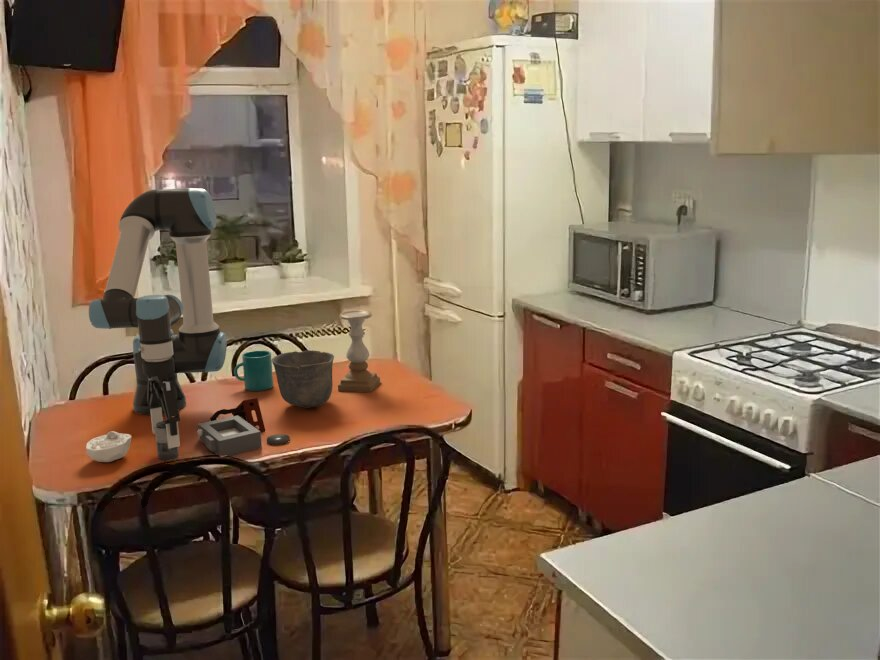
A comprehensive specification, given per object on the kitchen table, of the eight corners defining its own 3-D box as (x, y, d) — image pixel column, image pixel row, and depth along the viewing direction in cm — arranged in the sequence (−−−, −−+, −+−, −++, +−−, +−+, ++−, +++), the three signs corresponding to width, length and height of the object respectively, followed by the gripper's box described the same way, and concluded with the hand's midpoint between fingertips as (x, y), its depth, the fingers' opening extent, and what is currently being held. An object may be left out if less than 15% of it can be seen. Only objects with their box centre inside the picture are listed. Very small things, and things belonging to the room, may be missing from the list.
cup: (234, 386, 270) (231, 353, 267) (271, 382, 274) (268, 349, 271) (237, 394, 262) (234, 360, 259) (275, 389, 266) (272, 355, 263)
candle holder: (380, 382, 271) (377, 310, 265) (370, 392, 260) (367, 317, 255) (348, 380, 273) (345, 309, 267) (337, 390, 263) (333, 317, 257)
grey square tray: (195, 440, 223) (193, 424, 222) (239, 430, 229) (237, 415, 228) (216, 458, 210) (214, 442, 209) (261, 447, 216) (260, 431, 215)
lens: (155, 456, 213) (151, 422, 211) (175, 451, 215) (171, 418, 213) (161, 462, 209) (157, 428, 207) (181, 457, 211) (177, 424, 209)
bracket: (228, 439, 223) (220, 404, 225) (217, 450, 235) (209, 416, 237) (266, 431, 228) (257, 396, 230) (252, 442, 240) (244, 409, 243)
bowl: (295, 420, 237) (292, 369, 233) (264, 406, 250) (260, 357, 246) (347, 405, 248) (344, 357, 245) (314, 393, 261) (311, 346, 258)
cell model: (77, 465, 208) (73, 440, 206) (111, 448, 219) (108, 424, 217) (109, 470, 204) (106, 444, 203) (142, 453, 215) (139, 428, 214)
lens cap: (263, 440, 222) (263, 437, 222) (284, 435, 225) (284, 432, 225) (272, 446, 217) (272, 443, 217) (293, 441, 220) (293, 438, 220)
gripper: (129, 351, 214) (137, 429, 219) (156, 371, 194) (165, 457, 198) (158, 346, 218) (166, 423, 223) (188, 365, 198) (196, 450, 202)
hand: (166, 439), depth 211 cm, fingers open, 13 cm apart
